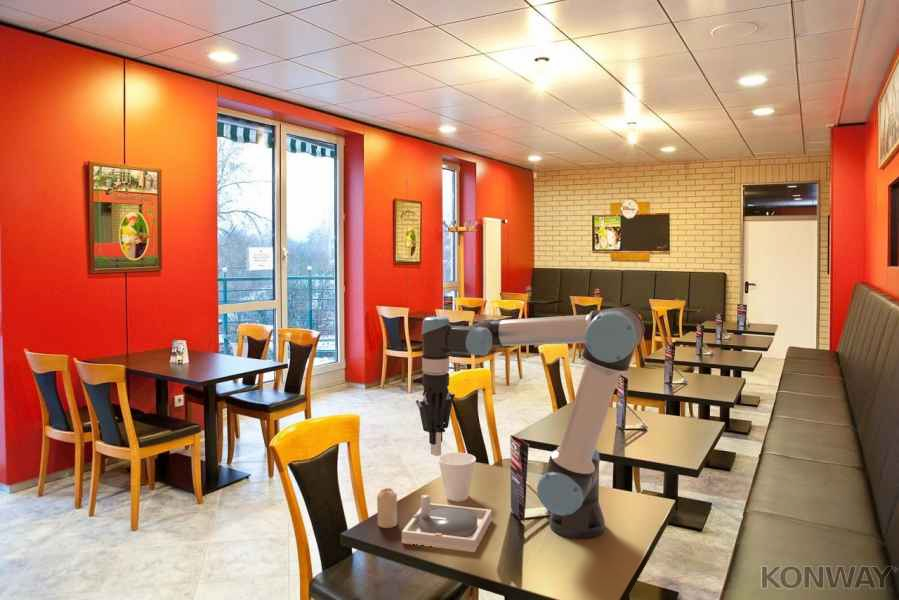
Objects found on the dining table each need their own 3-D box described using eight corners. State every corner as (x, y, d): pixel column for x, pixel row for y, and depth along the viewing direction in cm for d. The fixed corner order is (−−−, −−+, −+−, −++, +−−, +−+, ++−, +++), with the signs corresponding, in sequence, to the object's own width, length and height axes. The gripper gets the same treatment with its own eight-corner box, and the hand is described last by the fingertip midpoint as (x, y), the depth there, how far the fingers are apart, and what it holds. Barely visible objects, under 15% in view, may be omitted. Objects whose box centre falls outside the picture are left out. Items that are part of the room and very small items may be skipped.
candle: (394, 529, 186) (393, 494, 185) (375, 527, 187) (374, 493, 186) (399, 520, 191) (398, 487, 190) (381, 519, 193) (380, 485, 192)
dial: (483, 518, 190) (483, 490, 189) (469, 543, 174) (469, 513, 174) (429, 512, 194) (429, 485, 193) (411, 536, 179) (411, 507, 178)
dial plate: (491, 520, 191) (491, 508, 191) (474, 552, 172) (474, 539, 172) (425, 512, 197) (425, 501, 196) (401, 543, 178) (401, 530, 177)
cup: (476, 504, 202) (476, 465, 201) (437, 504, 203) (437, 465, 201) (475, 489, 214) (475, 452, 213) (438, 489, 214) (438, 452, 213)
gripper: (443, 367, 193) (443, 446, 195) (409, 373, 184) (409, 456, 186) (461, 370, 188) (461, 452, 190) (427, 377, 179) (427, 463, 181)
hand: (435, 454), depth 188 cm, fingers closed
